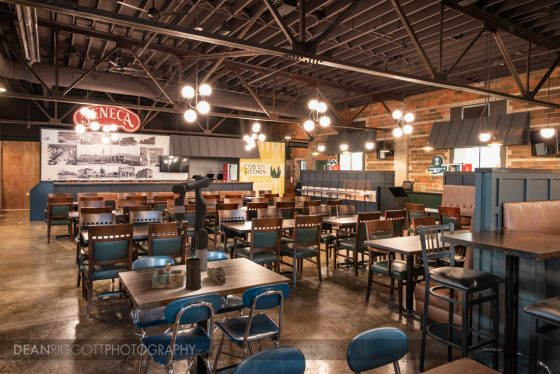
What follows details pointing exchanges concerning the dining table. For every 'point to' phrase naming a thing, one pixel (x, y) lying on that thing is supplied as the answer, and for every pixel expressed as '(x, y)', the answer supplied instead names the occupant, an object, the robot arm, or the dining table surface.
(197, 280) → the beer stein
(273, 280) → the dining table surface
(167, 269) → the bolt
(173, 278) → the clear plastic box
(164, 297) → the dining table surface
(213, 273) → the burrito
